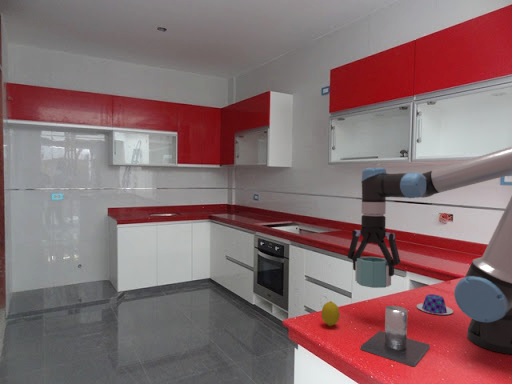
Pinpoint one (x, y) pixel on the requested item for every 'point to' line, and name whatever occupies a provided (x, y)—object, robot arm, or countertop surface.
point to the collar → (371, 272)
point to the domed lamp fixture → (396, 339)
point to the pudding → (434, 305)
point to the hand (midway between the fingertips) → (372, 282)
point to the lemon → (330, 313)
